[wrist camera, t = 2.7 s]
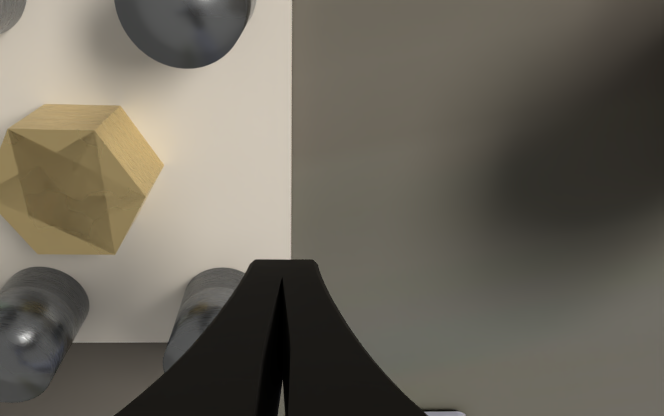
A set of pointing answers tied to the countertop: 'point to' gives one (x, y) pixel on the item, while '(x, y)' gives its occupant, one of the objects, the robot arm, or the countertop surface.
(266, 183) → the plate
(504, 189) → the countertop surface
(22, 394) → the spacers
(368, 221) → the countertop surface
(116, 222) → the faceted gold polyhedron
